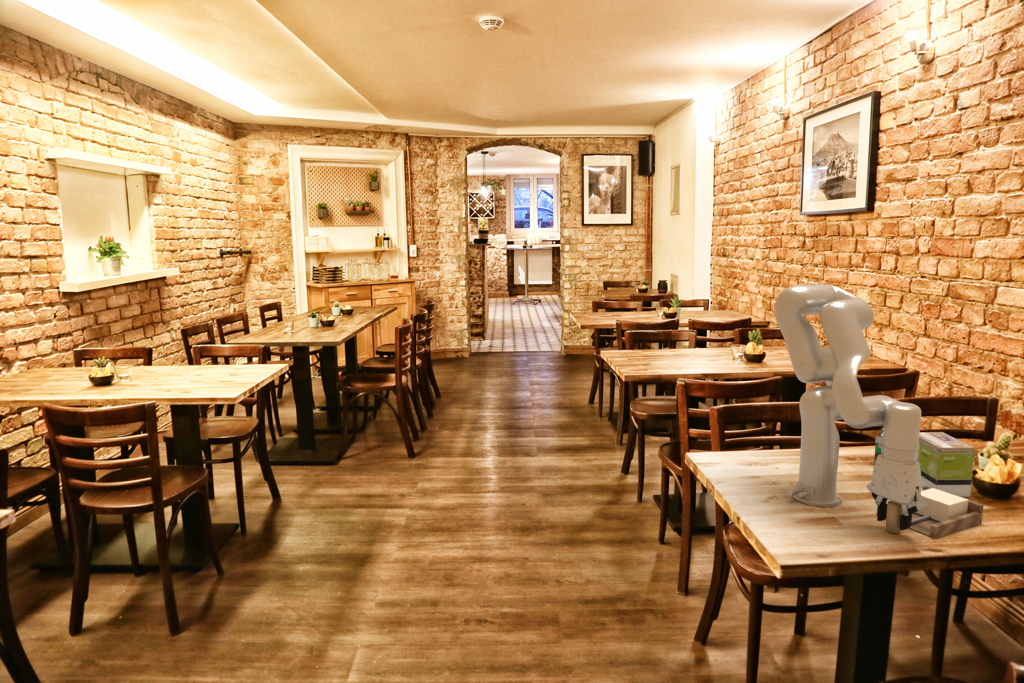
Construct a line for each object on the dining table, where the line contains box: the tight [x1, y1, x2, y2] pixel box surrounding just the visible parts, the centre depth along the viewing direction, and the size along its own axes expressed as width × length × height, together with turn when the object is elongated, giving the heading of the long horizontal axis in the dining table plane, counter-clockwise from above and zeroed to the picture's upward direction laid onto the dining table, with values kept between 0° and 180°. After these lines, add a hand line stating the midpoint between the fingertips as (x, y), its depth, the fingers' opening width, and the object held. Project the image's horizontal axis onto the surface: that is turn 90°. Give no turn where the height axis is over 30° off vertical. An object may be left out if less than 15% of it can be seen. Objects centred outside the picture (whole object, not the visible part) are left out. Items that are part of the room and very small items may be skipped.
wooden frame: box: [902, 486, 984, 540], centre depth 169 cm, size 19×14×5 cm
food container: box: [873, 427, 884, 465], centre depth 212 cm, size 12×6×10 cm, turn 143°
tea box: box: [917, 431, 975, 498], centre depth 191 cm, size 15×10×15 cm
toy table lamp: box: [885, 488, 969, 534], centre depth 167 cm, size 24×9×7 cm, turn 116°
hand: (893, 523), depth 163 cm, fingers open, 5 cm apart
